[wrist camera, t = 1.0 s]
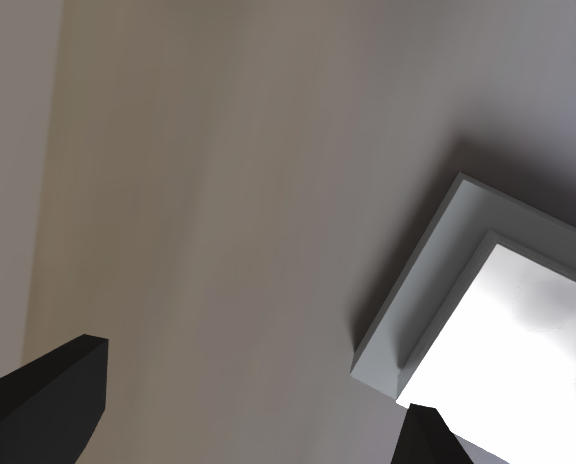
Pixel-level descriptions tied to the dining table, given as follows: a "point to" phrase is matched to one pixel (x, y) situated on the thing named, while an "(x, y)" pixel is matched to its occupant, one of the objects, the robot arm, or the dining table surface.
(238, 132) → the dining table surface
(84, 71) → the dining table surface
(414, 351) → the sliding cover
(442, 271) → the grey flat frame
